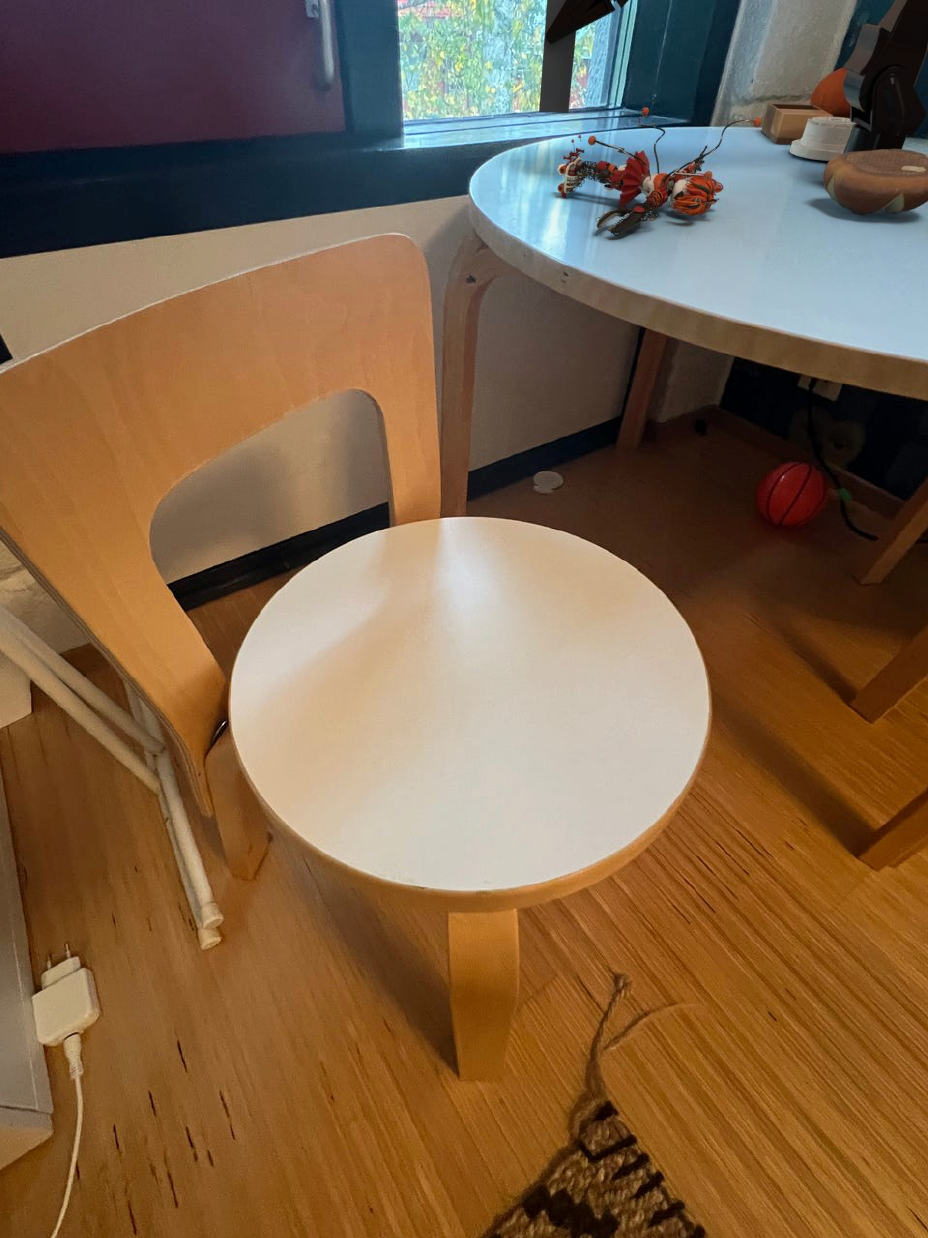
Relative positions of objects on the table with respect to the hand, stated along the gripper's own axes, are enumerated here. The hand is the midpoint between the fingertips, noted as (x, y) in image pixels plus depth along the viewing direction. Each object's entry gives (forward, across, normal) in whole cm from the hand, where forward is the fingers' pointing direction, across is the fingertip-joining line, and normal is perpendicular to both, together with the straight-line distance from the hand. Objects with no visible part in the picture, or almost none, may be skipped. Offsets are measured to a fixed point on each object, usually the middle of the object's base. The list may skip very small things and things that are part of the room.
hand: (548, 38), depth 79 cm
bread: (-21, +12, +33) cm, 40 cm away
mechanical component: (-19, -20, +39) cm, 48 cm away
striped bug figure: (+5, +11, +8) cm, 14 cm away
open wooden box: (-18, -34, +38) cm, 54 cm away
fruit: (-25, -50, +45) cm, 72 cm away
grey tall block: (+4, 0, +6) cm, 7 cm away
